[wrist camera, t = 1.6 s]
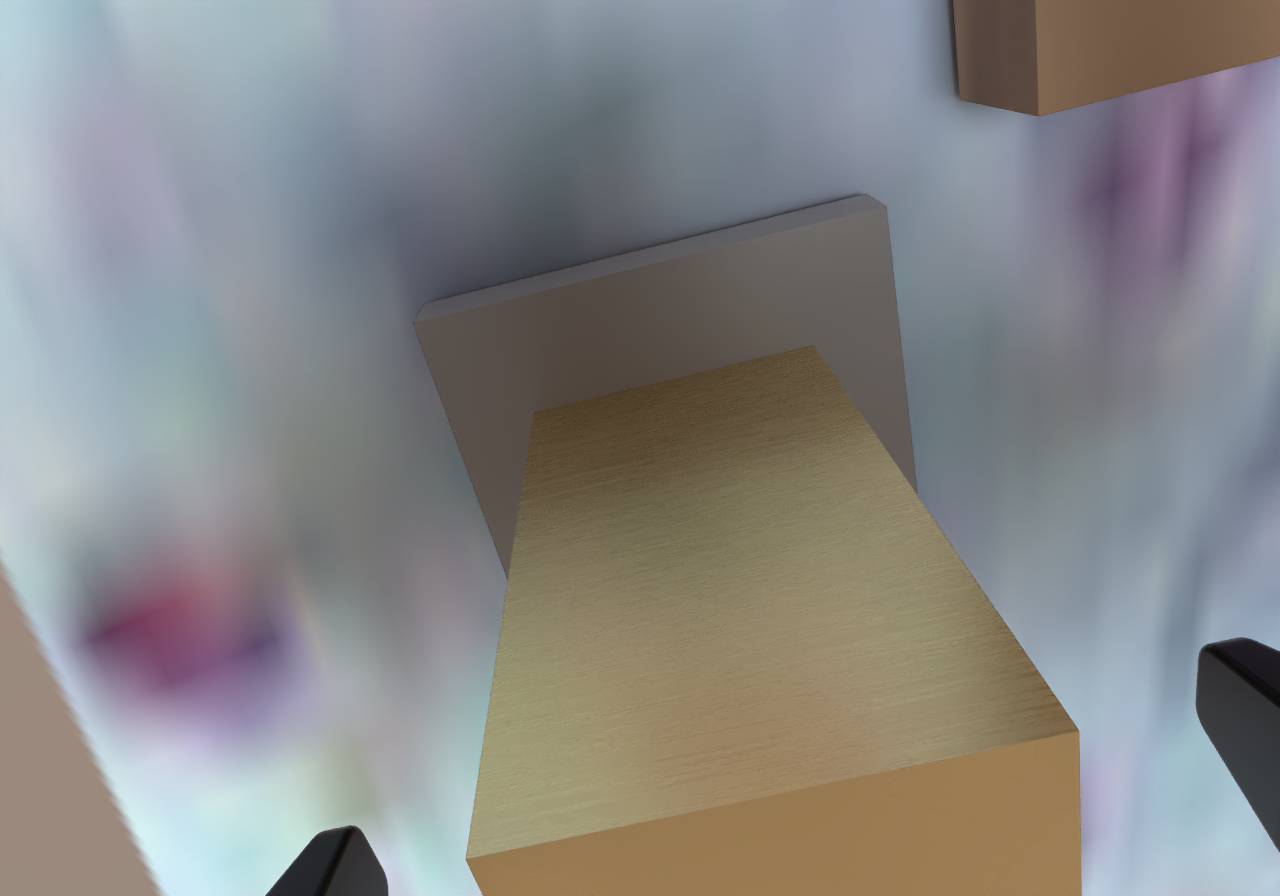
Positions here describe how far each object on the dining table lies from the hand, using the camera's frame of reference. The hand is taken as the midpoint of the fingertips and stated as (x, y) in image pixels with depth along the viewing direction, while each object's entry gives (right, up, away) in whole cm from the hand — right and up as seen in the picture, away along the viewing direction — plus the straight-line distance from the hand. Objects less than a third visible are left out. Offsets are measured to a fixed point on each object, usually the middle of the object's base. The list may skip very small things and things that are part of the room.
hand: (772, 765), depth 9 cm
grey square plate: (0, +3, +6) cm, 7 cm away
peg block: (0, +3, +5) cm, 6 cm away
